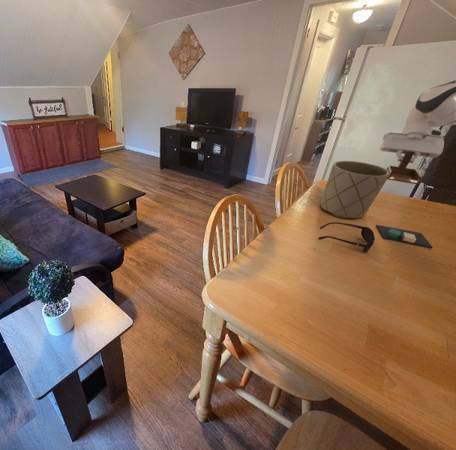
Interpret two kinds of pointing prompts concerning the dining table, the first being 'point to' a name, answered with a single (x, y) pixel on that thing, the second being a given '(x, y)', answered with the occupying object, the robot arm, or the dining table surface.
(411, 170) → the basket
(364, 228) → the sunglasses
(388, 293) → the dining table surface
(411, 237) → the packet
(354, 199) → the planter
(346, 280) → the dining table surface
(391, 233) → the packet
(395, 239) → the mat
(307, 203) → the dining table surface
